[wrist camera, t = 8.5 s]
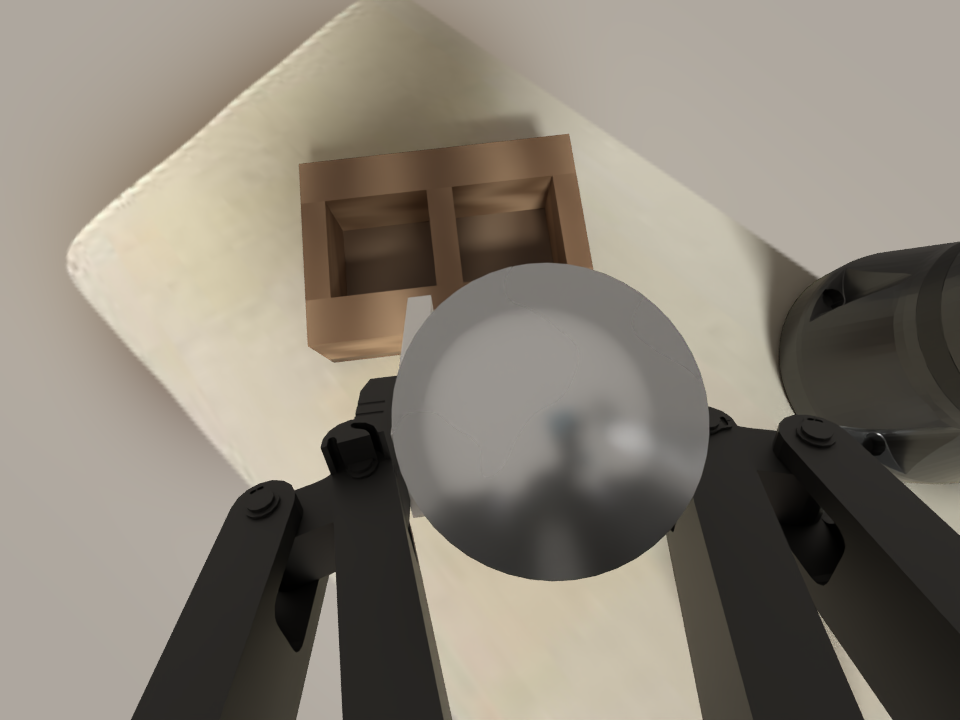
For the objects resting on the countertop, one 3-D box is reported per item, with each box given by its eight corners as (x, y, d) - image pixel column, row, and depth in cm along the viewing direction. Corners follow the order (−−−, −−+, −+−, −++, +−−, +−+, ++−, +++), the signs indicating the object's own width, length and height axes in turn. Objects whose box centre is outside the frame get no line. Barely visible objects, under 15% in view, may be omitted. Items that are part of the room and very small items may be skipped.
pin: (555, 380, 20) (674, 246, 7) (571, 489, 19) (741, 559, 6) (450, 393, 20) (379, 281, 7) (462, 502, 19) (406, 600, 6)
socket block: (557, 178, 36) (568, 133, 31) (583, 332, 33) (600, 311, 28) (324, 204, 35) (298, 164, 30) (334, 362, 33) (307, 346, 28)
